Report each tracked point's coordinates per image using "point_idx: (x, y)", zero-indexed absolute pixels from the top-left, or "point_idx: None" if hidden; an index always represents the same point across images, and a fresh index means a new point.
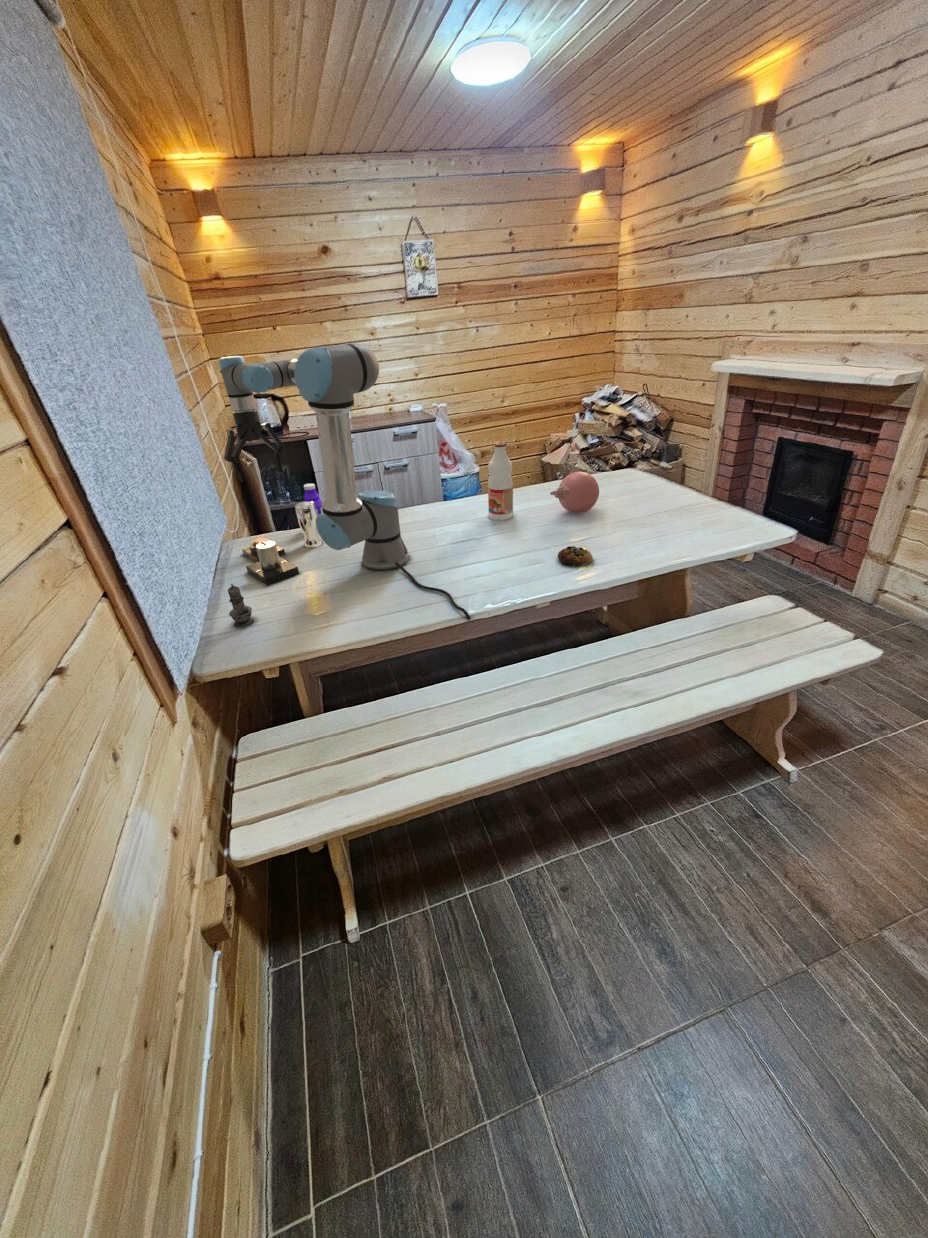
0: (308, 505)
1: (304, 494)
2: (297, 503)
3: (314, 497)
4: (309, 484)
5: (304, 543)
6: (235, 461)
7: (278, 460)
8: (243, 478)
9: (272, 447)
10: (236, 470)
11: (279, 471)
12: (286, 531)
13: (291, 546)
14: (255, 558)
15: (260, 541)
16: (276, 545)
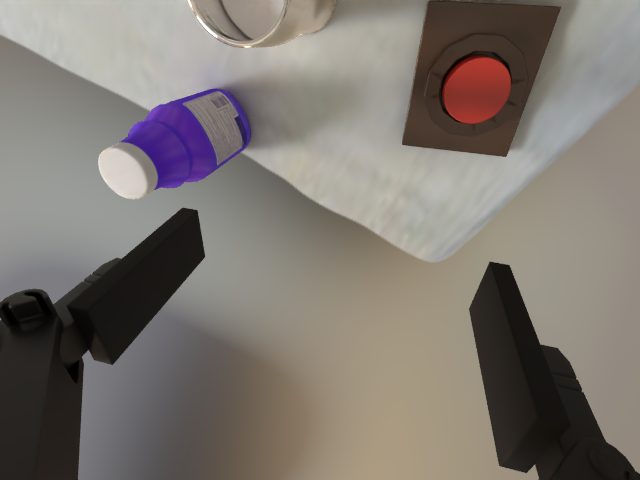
0: (214, 21)
1: (176, 172)
2: (257, 42)
3: (152, 123)
4: (119, 179)
5: (331, 9)
6: (603, 448)
7: (134, 263)
8: (501, 280)
9: (49, 383)
10: (558, 361)
11: (197, 231)
12: (303, 193)
13: (365, 59)
14: (552, 26)
15: (490, 73)
16: (418, 70)
